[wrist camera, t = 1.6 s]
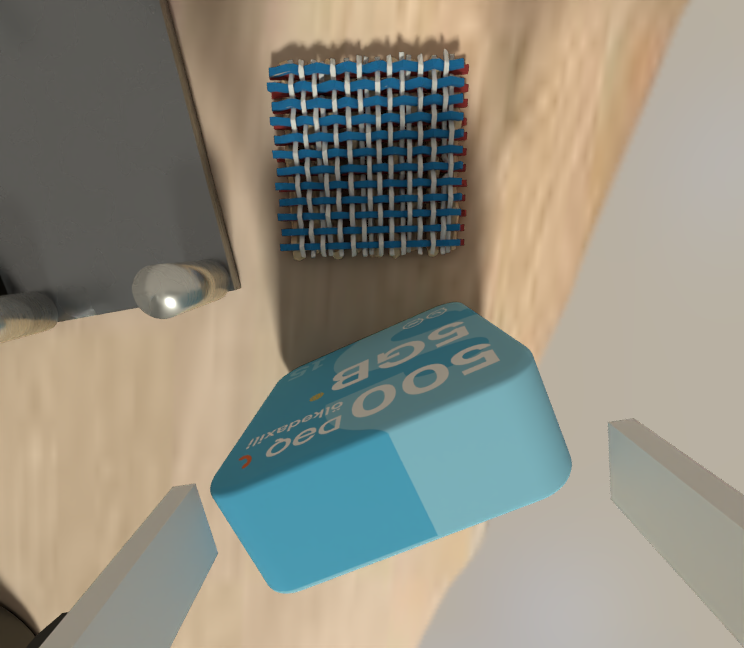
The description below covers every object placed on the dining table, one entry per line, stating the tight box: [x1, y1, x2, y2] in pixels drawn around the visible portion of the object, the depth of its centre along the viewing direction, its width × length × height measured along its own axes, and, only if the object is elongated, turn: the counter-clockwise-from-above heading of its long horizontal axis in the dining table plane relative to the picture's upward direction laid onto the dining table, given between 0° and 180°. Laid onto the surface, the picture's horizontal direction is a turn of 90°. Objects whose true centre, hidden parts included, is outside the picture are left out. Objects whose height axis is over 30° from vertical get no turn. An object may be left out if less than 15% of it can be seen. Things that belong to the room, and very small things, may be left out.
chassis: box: [0, 0, 241, 343], centre depth 17 cm, size 13×20×6 cm, turn 10°
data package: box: [210, 302, 572, 593], centre depth 17 cm, size 12×4×12 cm, turn 114°
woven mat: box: [267, 49, 469, 261], centre depth 20 cm, size 10×11×2 cm
